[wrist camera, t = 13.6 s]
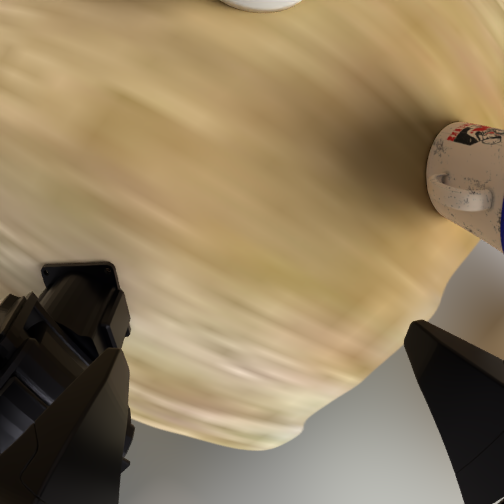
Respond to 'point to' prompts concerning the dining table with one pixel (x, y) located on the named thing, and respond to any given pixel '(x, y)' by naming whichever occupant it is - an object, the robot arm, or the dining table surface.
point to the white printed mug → (469, 179)
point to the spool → (261, 5)
